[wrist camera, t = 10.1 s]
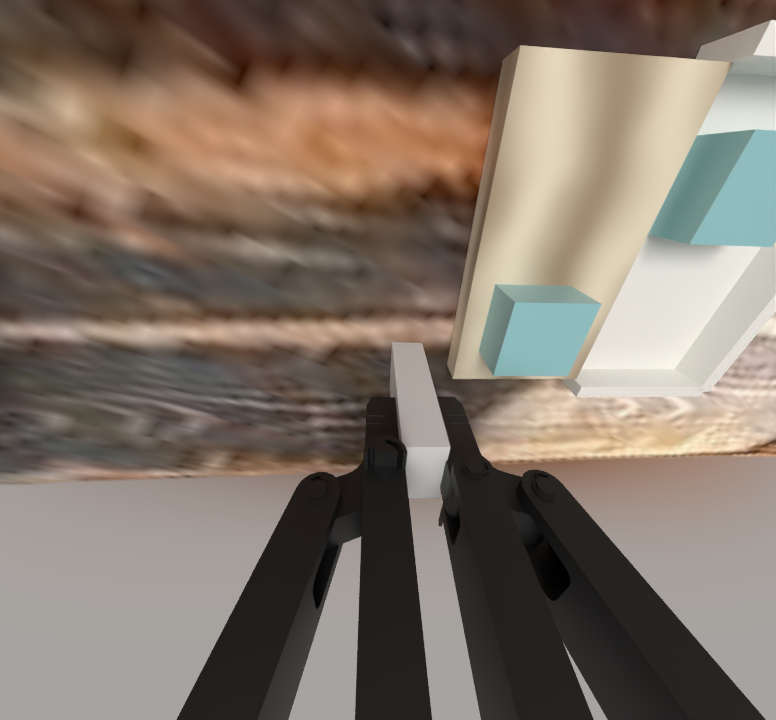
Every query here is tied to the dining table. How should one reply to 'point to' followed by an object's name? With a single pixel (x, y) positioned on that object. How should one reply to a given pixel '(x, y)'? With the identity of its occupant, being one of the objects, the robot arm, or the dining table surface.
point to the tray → (693, 268)
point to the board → (575, 178)
